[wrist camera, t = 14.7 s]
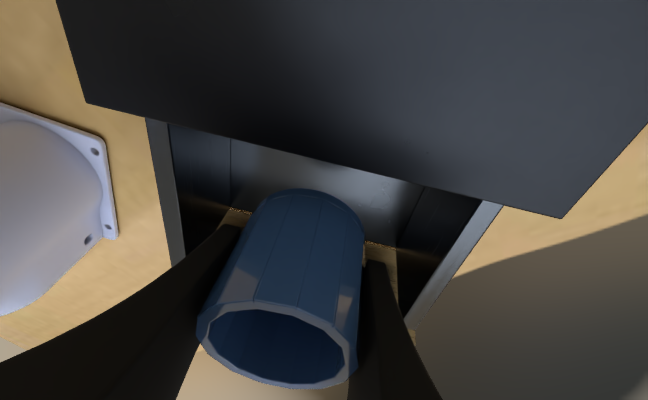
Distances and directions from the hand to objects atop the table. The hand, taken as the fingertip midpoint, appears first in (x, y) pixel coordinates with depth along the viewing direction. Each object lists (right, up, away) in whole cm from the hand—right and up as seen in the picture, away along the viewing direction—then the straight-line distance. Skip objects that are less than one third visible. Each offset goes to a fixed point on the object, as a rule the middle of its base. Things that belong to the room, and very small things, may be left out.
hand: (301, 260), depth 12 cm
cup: (0, +1, +1) cm, 1 cm away
